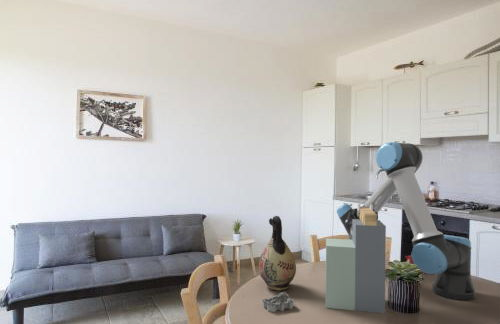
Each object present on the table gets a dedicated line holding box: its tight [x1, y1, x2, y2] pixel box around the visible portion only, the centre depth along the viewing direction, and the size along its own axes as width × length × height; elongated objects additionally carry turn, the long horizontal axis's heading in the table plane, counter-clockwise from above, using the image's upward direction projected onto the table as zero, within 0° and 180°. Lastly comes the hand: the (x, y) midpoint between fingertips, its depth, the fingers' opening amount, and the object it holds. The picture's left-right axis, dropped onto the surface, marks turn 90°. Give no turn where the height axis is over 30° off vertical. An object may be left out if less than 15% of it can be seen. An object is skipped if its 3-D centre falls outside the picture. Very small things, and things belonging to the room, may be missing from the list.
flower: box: [405, 254, 414, 263], centre depth 173 cm, size 10×9×8 cm
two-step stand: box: [324, 219, 387, 314], centre depth 132 cm, size 14×20×30 cm
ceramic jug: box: [258, 215, 297, 291], centre depth 147 cm, size 17×15×30 cm
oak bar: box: [358, 205, 377, 226], centre depth 136 cm, size 24×4×4 cm, turn 168°
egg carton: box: [260, 291, 295, 313], centre depth 127 cm, size 11×8×4 cm
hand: (365, 207), depth 139 cm, fingers closed on oak bar, 4 cm apart
